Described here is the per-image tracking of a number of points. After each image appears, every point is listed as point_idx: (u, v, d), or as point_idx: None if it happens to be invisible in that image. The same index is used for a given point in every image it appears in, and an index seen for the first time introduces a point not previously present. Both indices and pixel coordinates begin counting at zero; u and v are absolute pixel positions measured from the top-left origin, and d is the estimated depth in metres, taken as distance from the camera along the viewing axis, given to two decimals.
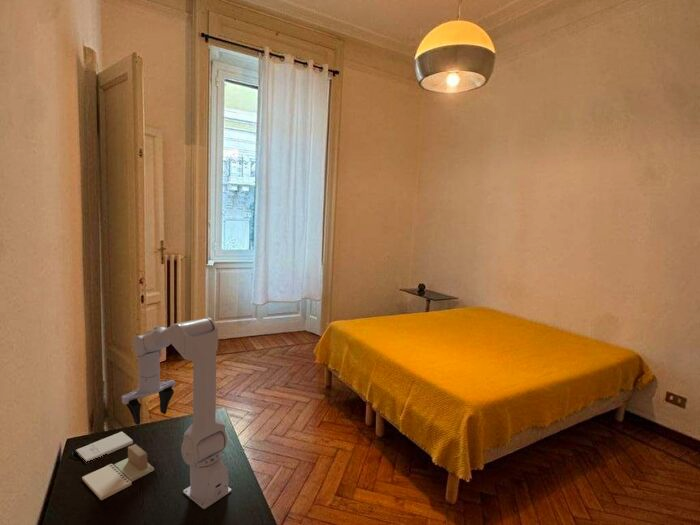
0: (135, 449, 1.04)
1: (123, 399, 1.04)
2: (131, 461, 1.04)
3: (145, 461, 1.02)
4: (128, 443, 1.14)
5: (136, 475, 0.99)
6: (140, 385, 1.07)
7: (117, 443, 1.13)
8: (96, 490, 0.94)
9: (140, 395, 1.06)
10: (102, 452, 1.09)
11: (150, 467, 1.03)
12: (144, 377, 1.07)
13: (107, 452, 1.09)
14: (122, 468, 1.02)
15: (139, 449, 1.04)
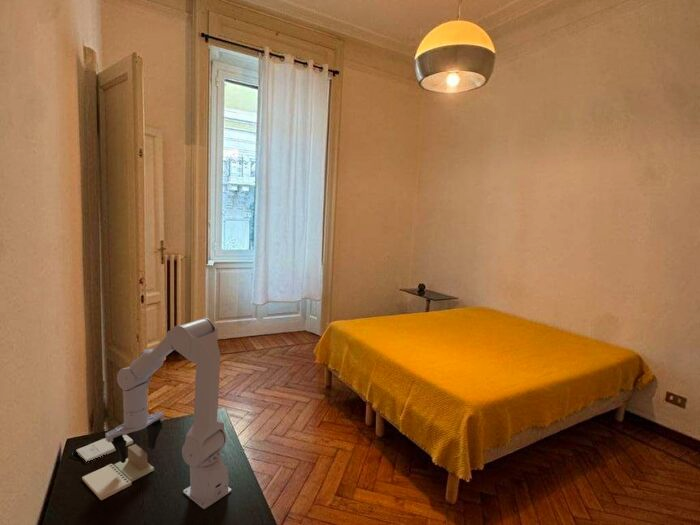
0: (135, 449, 1.04)
1: (107, 437, 0.97)
2: (131, 461, 1.04)
3: (145, 461, 1.02)
4: (128, 443, 1.14)
5: (136, 475, 0.99)
6: (126, 420, 1.00)
7: None
8: (96, 490, 0.94)
9: (125, 432, 0.99)
10: (102, 452, 1.09)
11: (150, 467, 1.03)
12: (130, 412, 0.99)
13: (107, 452, 1.09)
14: (122, 468, 1.02)
15: (139, 449, 1.04)
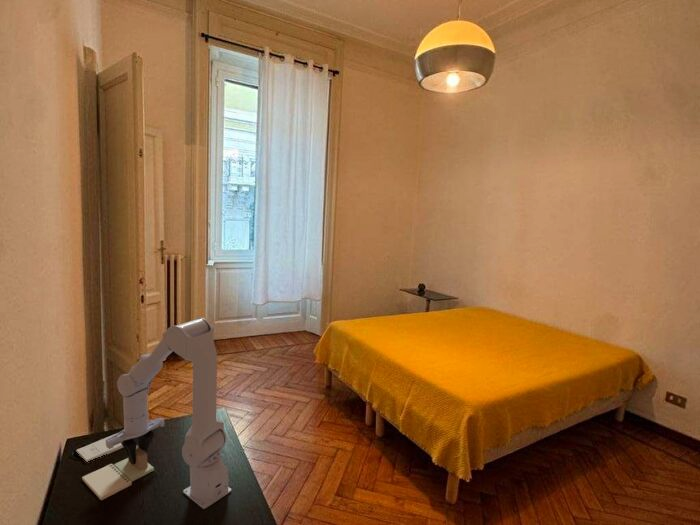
0: None
1: (107, 443, 0.97)
2: None
3: (145, 461, 1.02)
4: None
5: (136, 475, 0.99)
6: (126, 427, 1.00)
7: None
8: (96, 490, 0.94)
9: (126, 438, 0.99)
10: (102, 452, 1.09)
11: (150, 467, 1.03)
12: (130, 418, 1.00)
13: (107, 452, 1.09)
14: (122, 468, 1.02)
15: (139, 449, 1.04)
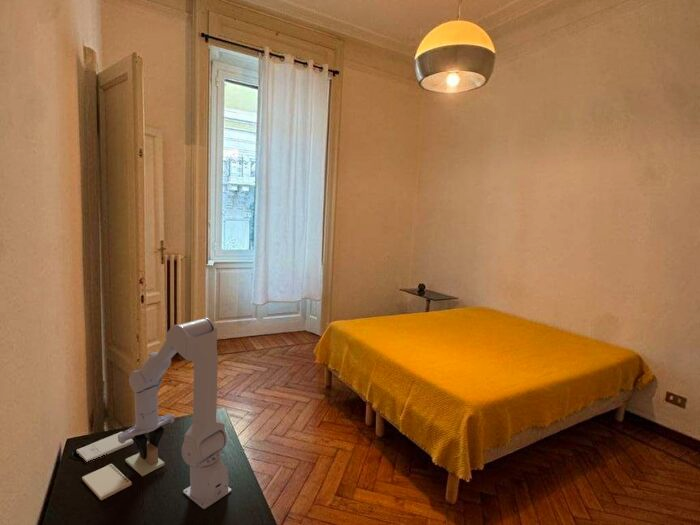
0: None
1: (119, 438, 0.99)
2: None
3: (156, 456, 1.04)
4: (128, 443, 1.14)
5: (147, 469, 1.02)
6: (137, 422, 1.02)
7: (118, 443, 1.13)
8: (96, 490, 0.94)
9: (137, 433, 1.01)
10: (102, 452, 1.09)
11: (161, 462, 1.05)
12: (142, 414, 1.02)
13: (107, 452, 1.09)
14: (133, 463, 1.04)
15: (150, 444, 1.06)
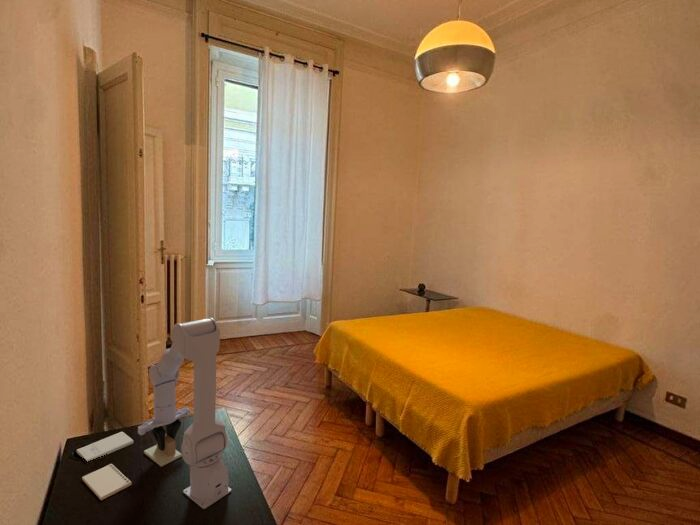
0: None
1: (139, 430, 1.03)
2: None
3: (173, 447, 1.08)
4: (129, 443, 1.14)
5: (166, 460, 1.06)
6: (156, 415, 1.07)
7: (118, 443, 1.13)
8: (96, 490, 0.94)
9: (156, 425, 1.05)
10: (103, 452, 1.09)
11: (178, 453, 1.09)
12: (160, 407, 1.06)
13: (108, 452, 1.09)
14: (152, 454, 1.08)
15: (167, 436, 1.10)
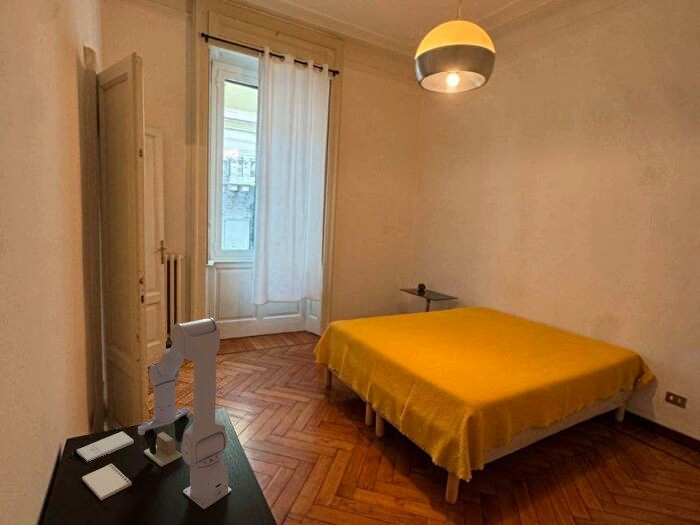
0: (164, 436, 1.10)
1: (139, 430, 1.03)
2: (160, 448, 1.10)
3: (173, 447, 1.08)
4: (129, 443, 1.14)
5: (166, 460, 1.06)
6: (156, 415, 1.07)
7: (118, 443, 1.13)
8: (96, 490, 0.94)
9: (156, 425, 1.05)
10: (103, 452, 1.09)
11: (178, 453, 1.09)
12: (160, 407, 1.06)
13: (108, 452, 1.09)
14: (152, 454, 1.08)
15: (167, 436, 1.10)
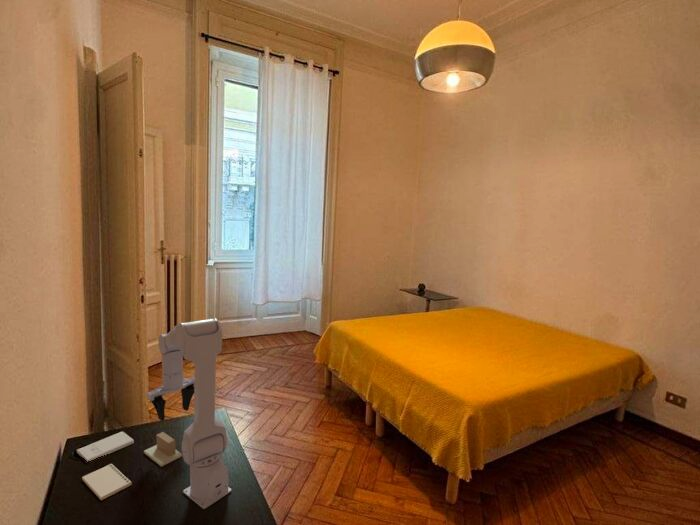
0: (164, 436, 1.10)
1: (149, 396, 1.08)
2: (160, 448, 1.10)
3: (173, 447, 1.08)
4: (129, 443, 1.14)
5: (166, 460, 1.06)
6: (164, 382, 1.11)
7: (118, 443, 1.13)
8: (96, 490, 0.94)
9: (165, 392, 1.10)
10: (103, 452, 1.09)
11: (178, 453, 1.09)
12: (168, 375, 1.10)
13: (108, 452, 1.10)
14: (152, 454, 1.08)
15: (167, 436, 1.10)
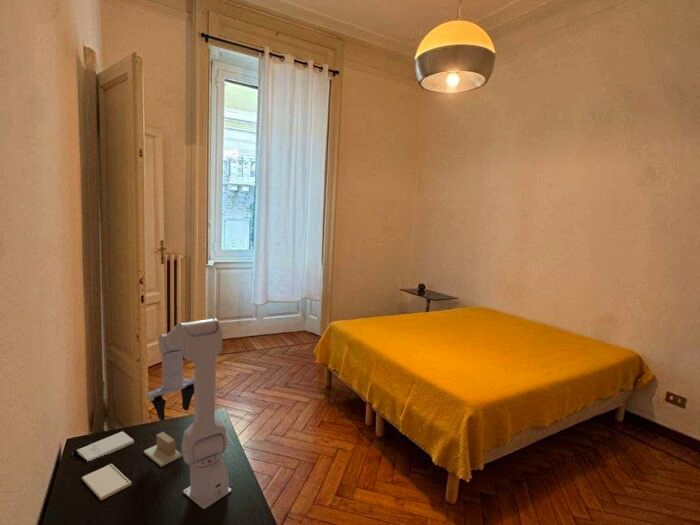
0: (164, 436, 1.10)
1: (149, 396, 1.08)
2: (160, 448, 1.10)
3: (173, 447, 1.08)
4: (129, 443, 1.14)
5: (166, 460, 1.06)
6: (164, 382, 1.11)
7: (118, 443, 1.13)
8: (96, 490, 0.94)
9: (165, 392, 1.10)
10: (103, 452, 1.09)
11: (178, 453, 1.09)
12: (168, 375, 1.10)
13: (108, 452, 1.10)
14: (152, 454, 1.08)
15: (167, 436, 1.10)
